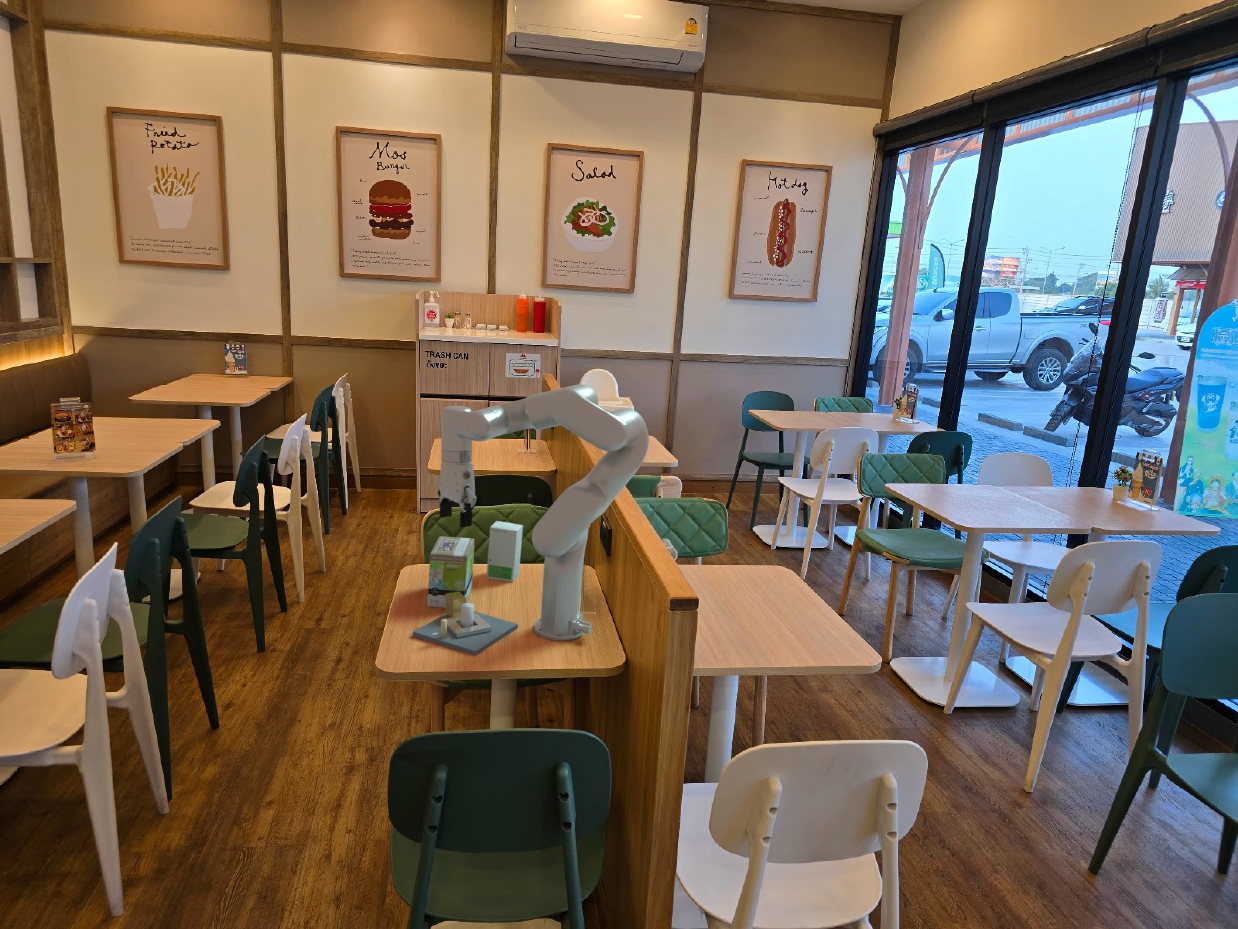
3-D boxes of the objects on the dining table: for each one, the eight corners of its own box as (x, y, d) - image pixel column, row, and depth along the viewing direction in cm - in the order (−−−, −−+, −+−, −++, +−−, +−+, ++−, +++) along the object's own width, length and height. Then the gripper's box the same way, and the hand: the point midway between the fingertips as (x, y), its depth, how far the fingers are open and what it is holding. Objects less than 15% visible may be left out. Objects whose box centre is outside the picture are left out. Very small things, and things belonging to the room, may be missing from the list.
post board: (517, 628, 203) (519, 602, 202) (475, 656, 187) (476, 627, 186) (458, 611, 211) (459, 585, 209) (412, 636, 195) (413, 608, 193)
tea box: (465, 609, 212) (467, 555, 209) (426, 607, 211) (428, 553, 208) (472, 587, 227) (475, 536, 223) (436, 585, 226) (437, 534, 223)
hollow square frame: (491, 630, 198) (492, 609, 196) (456, 637, 193) (457, 616, 191) (468, 609, 208) (469, 589, 207) (434, 616, 203) (435, 595, 202)
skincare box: (485, 578, 234) (488, 526, 230) (493, 570, 240) (495, 520, 236) (514, 582, 232) (516, 530, 229) (520, 574, 239) (523, 523, 235)
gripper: (488, 461, 200) (486, 528, 204) (451, 447, 212) (450, 511, 216) (461, 464, 195) (460, 532, 199) (425, 450, 207) (425, 515, 211)
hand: (455, 521), depth 208 cm, fingers open, 9 cm apart
